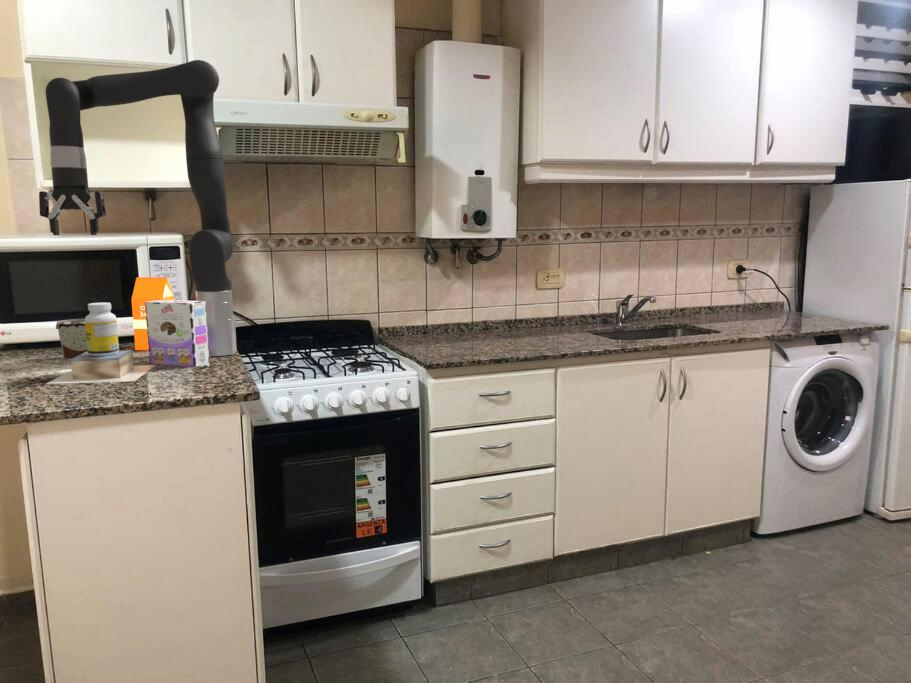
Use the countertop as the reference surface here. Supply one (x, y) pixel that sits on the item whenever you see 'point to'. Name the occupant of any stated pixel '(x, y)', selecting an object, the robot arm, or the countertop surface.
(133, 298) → the orange juice
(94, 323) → the pill bottle
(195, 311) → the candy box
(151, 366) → the baseplate
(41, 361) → the countertop surface
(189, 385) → the countertop surface
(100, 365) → the plinth
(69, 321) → the food container
